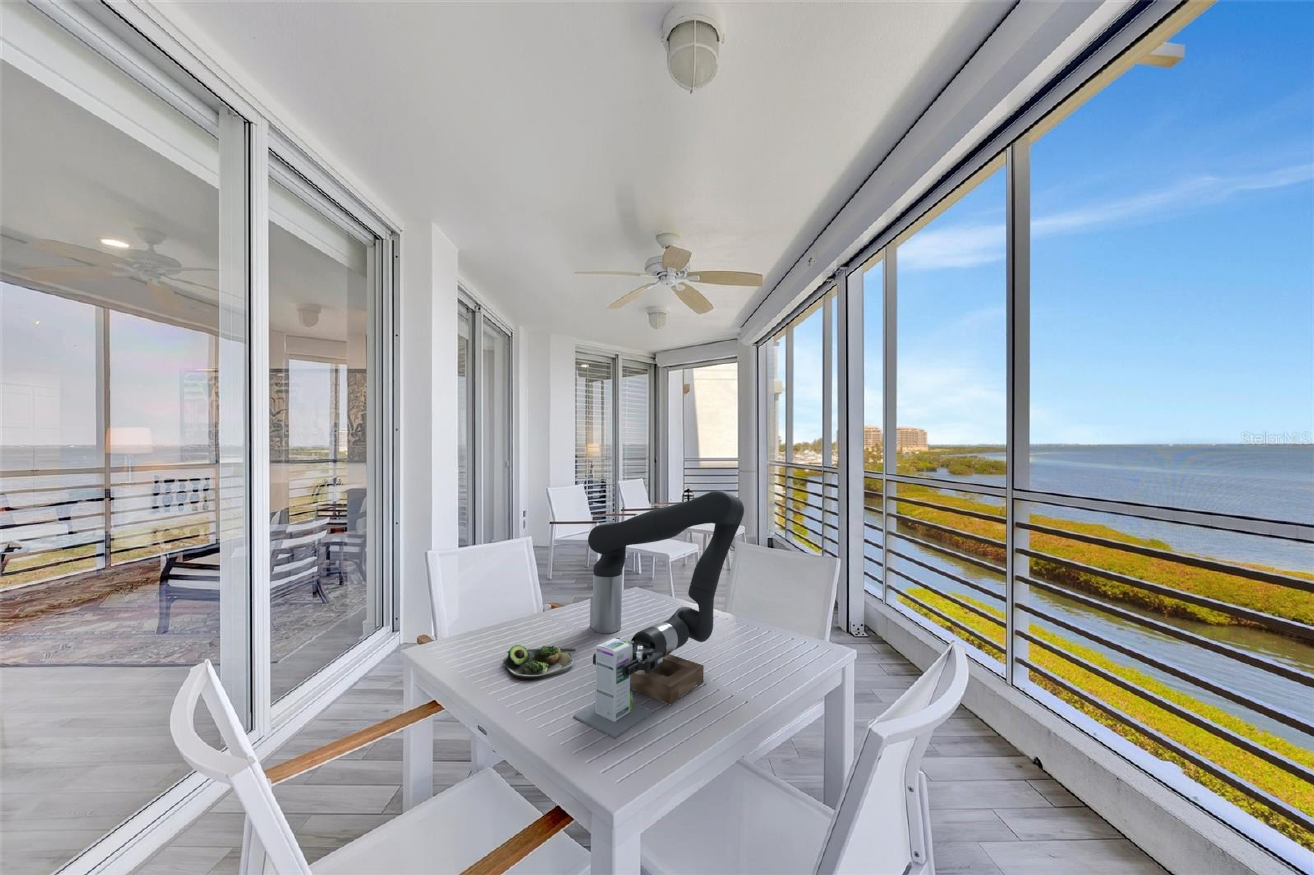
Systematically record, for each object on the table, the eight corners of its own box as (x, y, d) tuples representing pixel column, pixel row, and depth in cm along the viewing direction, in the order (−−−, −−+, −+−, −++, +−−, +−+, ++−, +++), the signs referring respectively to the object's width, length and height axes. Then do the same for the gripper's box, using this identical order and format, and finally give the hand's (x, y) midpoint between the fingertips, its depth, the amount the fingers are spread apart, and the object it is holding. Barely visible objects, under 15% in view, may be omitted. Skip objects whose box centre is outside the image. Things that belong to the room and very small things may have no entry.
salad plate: (564, 645, 139) (564, 629, 140) (590, 669, 124) (591, 651, 125) (496, 659, 129) (497, 642, 129) (516, 687, 114) (517, 668, 114)
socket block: (622, 685, 115) (623, 668, 115) (658, 665, 126) (658, 650, 126) (670, 705, 107) (670, 686, 107) (703, 682, 118) (703, 665, 118)
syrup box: (614, 723, 98) (616, 651, 99) (594, 713, 102) (595, 644, 102) (632, 711, 103) (633, 643, 103) (612, 702, 106) (613, 636, 107)
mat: (573, 717, 101) (573, 715, 101) (611, 695, 110) (611, 693, 110) (615, 738, 94) (615, 736, 94) (652, 713, 103) (652, 711, 103)
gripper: (632, 619, 118) (585, 639, 105) (680, 633, 110) (634, 657, 97) (632, 650, 118) (584, 674, 105) (679, 667, 109) (633, 694, 96)
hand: (608, 665), depth 101 cm, fingers open, 8 cm apart
